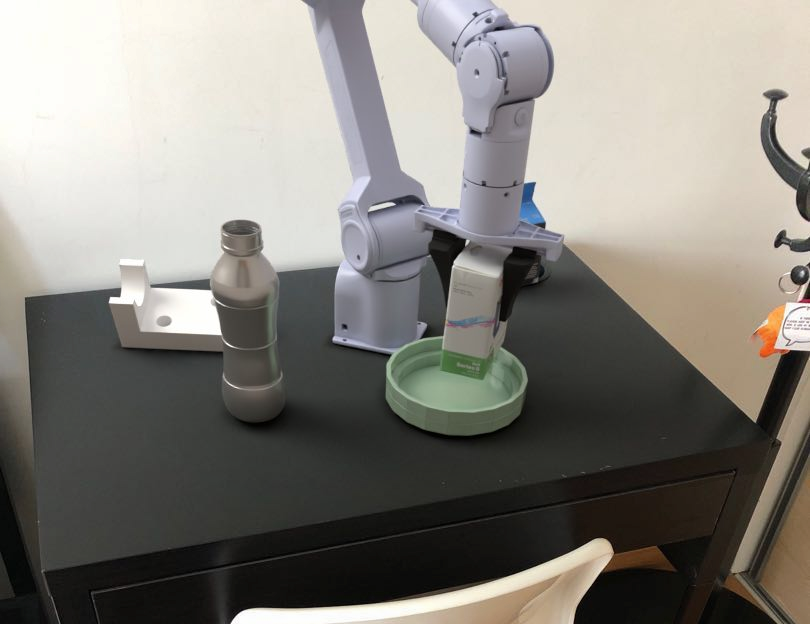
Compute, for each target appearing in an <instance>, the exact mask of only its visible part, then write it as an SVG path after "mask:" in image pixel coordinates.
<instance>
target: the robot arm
mask: <svg viewBox="0 0 810 624" xmlns="http://www.w3.org/2000/svg"><path fill="white" fill-rule="evenodd" d="M300 1H301V2H303V3H304V4H305V5H307V10H308V15H309V19H310V23H311V26H312V29H313V33H314V38H315V41H316V45H317V48H318V54H319V56H320V59H321V65H322V68H323V71H324V75H325V80H326V83H327V86H328V90H329V95H330V98H331V102H332V105H333V109H334V113H335V116H336V121H337V124H338V129H339V132H340V136H341V140H342V143H343V146H344V147H343V148H344V152H345V155H346V159H347V162H348V167H349V170H350V173H351V177H352V182H353V183H352V185H351V186H350V188H349V189H348V192H347V193H346V195H345V196H344V197H343V199H342V200H341V201H340V203H339V205H338V207H337V214H338V217H339V224H340V242H341V243H340V244H341V249H342V252H343V254H344V257H345V258H343V260H342V261H341V263H340V265H339V267H338V269H337V273H336V278H335V283H334V336H333V337H332V343H333V344H337V345H343V346H345V347H346V346H347V347H351V348H356V349H362V350H366V351H370V352H371V351H372V352H376V353H381V354H386V355H391V356H392V354H393V353H394V352H396V351H397V350H398V349H400V348H401V347H403V346H404V345H406V344H408V343H411V342H414V341H417V340H420V339H422V337H423V335H424V333H425V331H426V330H427V328H428V323H426V322H423V321H418V320H419V306H420V305H419V304H420V293H421V292H420V291H421V290H420V289H421V277H422V276H421V275H422V274H421V273H422V269H423V268H424V267H426V266H427V265H428V257H431V260H432V261H433V263H434V265H435V268H436V270H437V273H438V276H439V279H440V283H441V287H442V291H443V297H444V305H445V309H447V306H448V298H449V289H450V281H451V273H452V266H453V265H454V261H455V260H456V258H457V257H458V255H459V254H460V253H461V252H462V251H463V249H464V247H465V246H466V245H467V241H473V242H476V243H482V244H490V245H495V246H500V247H504V248H509V249H512V252H511V253H510V254H509V255H508V256H507V258H506V259H505V260H504V262H503V294H502V300H501V306H500V313H499V321H502V322H506V321H507V319H508V320H509V318H510V317H511V315H512V312H513V310H514V306H515V302H516V300H517V297H518V295H519V292H520V290H521V288H522V284H523V282H524V280H525V278H526V276H527V274H528V273H529V271H530V269H531V268H532V266H533V264H534V263H535V261H536V260H537V258H538V257H539V255H541V257H545V260H547V261H550V262H553V263H554V262H555V263H556V262H557V261H558V260H559V258H560V257H561V255H562V253H563V247H564V241H565V234H562V233H559V232H556V231H552V230H548V229H546V228H545V229H543V228H541V227H538V226H536V225H533V224H530V223H528V222H525V221H523V220H520V219H519V216H520V209H521V201H522V194H523V187H524V183H525V178H526V172H527V166H528V165H527V164H528V156H529V149H530V143H531V142H530V141H531V133H532V127H533V121H534V111H535V104H536V99H539V98H540V97H542V96H544V95H545V93H546V92H547V91H548V89H549V88H550V85H551V83H552V80H553V78H554V72H555V56H554V51H553V47H552V45H551V42H550V40H549V38H548V37H547V35H546V34H545V33H544V32H543V31H544V30H543V29H542V28H541V26H540V25H538V24H535V23H525V24H519V22H517V21H512V20H511V19H510V18H509V17H510V16H509V14H508V12H506V10H505V9H503V8H502V7H501V8H499V7H498V6H497V5H496V4H495V3H494V2H493V1H492V0H409V1H410V2H411V3H412V4H414V5H415V6H416V7H417V11H416V20H417V21H416V22H417V24H418V28H419V29H420V31H421V32H422V33H423V34H424V36H426V37H427V38H428V39H429V41H430V42H431V43H432V44H433V45H434V46H435V47H436V49H438V50H439V52H440V53H442V55H443V56H444V57H445V58H446V59H447V60H448V61H449V63H451V65H452V66H454V68H455V69H456V81H457V84H458V88H459V92H460V94H461V99H462V114H461V116H462V117H463V123H464V125H466V132H465V142H464V143H465V144H464V156H463V167H462V177H461V189H460V198H459V199H460V201H459V208H456V207H455V208H453V207H438V206H431V204H430V203H429V200H428V198H427V194H426V191H425V187H424V185H423V183H421V182H420V181H418V180H417V179H415V178H414V177H412V176H410V175H408V174H407V173H405V171H403V170H402V169H401V165H400V160H399V157H398V153H397V149H396V144H395V141H394V136H393V132H392V128H391V124H390V121H389V117H388V113H387V109H386V103H385V101H384V96H383V92H382V88H381V83H380V80H379V76H378V71H377V67H376V64H375V59H374V55H373V52H372V47H371V44H370V40H369V35H368V32H367V27H366V23H365V18H364V16H363V9H364V5H365V3H366V0H300ZM387 203H388V204H389V203H390V204H391V203H392V204H394V205H390V206H386V207H381V208H378V209H377V208H376V209H373V210H370V209H371V207H375V206H380V205H383V204H387ZM369 210H370V211H369ZM507 322H508V321H507Z"/></svg>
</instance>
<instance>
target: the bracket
mask: <svg viewBox="0 0 810 624" xmlns="http://www.w3.org/2000/svg"><path fill="white" fill-rule="evenodd" d="M118 266H119V271H120V279H121V280H120V281H121V286H120V287H121V291H120V296H119V297H118V296H117V297H116V296H110V297H109V301H108V306H109V309H110V312H111V315H112V319H113V322H114V325H115V328H116V332H117V335H118V338H119V339H118V340H119V341H120V345H121V348H131V349H134V348H135V349H155V350H180V351H203V352H223V342H222V334H221V330H220V324H219V318H218V314H217V311H216V307H215V303H214V299H213V296H212V292H211V289H210V290H209V289H189V288H167V287H166V288H165V287H152V286H151V283H150V278H149V275H148V270H147V266H146V262H145V259H131V258H129V259H127V258H120V260H119V263H118Z"/></svg>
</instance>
